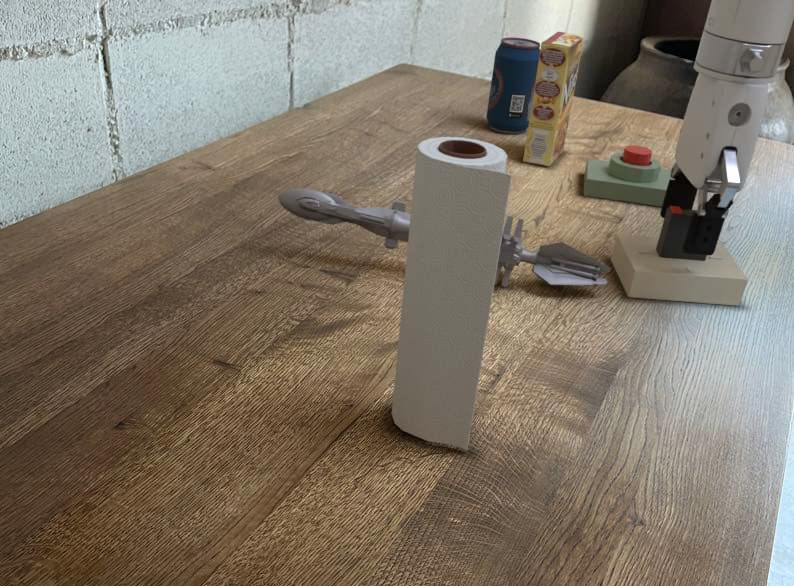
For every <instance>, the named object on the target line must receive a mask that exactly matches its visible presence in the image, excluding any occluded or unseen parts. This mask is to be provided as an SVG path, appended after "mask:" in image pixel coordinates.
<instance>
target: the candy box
mask: <svg viewBox="0 0 794 586" xmlns="http://www.w3.org/2000/svg"><path fill="white" fill-rule="evenodd" d="M584 41H585V35H583V34H582V35H581V34H576V33H570V32H564V31H557V32H555V33H554V34H552V35H551V36H549V38H547V39H545V40H543V41H542V42H541V43H540V56H539V62H538V68H537V74H536V81H535V87H534V94H533V101H532V107H531V113H530V120H529V126H528V128H527V133H526V139H525V146H524V152H523V153H524V154H523V158H522V162H524V163H528V164H535V165H540V166H545V167H550V166H551V165H552V164H553V163H554V161H556V160H557V159H558V158H559V156H560V155H561V154H562V153H563V152H564V150H565V144H566V139H567V134H568V133H567V132H568V128H569V122H570V117H571V111H572V106H573V100H574V94H575V90H576V83H577V80H578V79H577V78H578V72H579V67H580V63H581V62H580V61H581V57H582V52H583V45H584Z"/></svg>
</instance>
